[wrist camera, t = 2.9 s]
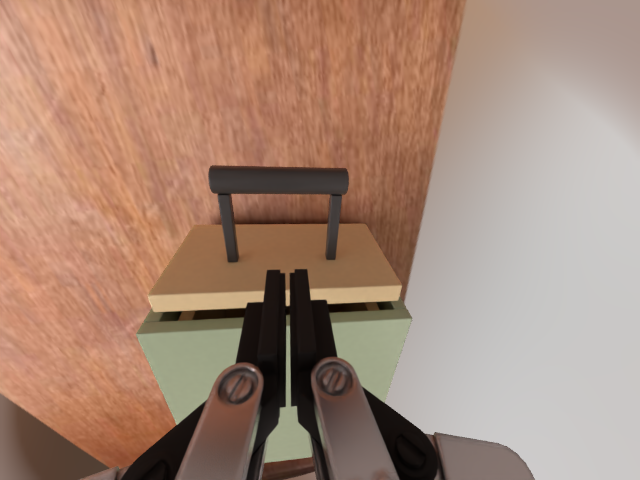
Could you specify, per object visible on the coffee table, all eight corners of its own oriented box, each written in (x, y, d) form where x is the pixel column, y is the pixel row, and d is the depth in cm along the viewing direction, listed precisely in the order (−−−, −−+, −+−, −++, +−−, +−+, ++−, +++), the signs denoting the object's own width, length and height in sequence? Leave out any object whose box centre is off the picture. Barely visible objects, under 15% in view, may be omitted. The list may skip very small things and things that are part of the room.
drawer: (176, 145, 17) (103, 183, 10) (376, 151, 18) (430, 187, 12) (222, 355, 27) (202, 441, 21) (346, 346, 29) (364, 423, 22)
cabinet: (193, 238, 21) (135, 334, 13) (366, 235, 23) (413, 318, 15) (221, 364, 29) (197, 471, 21) (347, 354, 31) (369, 450, 23)
